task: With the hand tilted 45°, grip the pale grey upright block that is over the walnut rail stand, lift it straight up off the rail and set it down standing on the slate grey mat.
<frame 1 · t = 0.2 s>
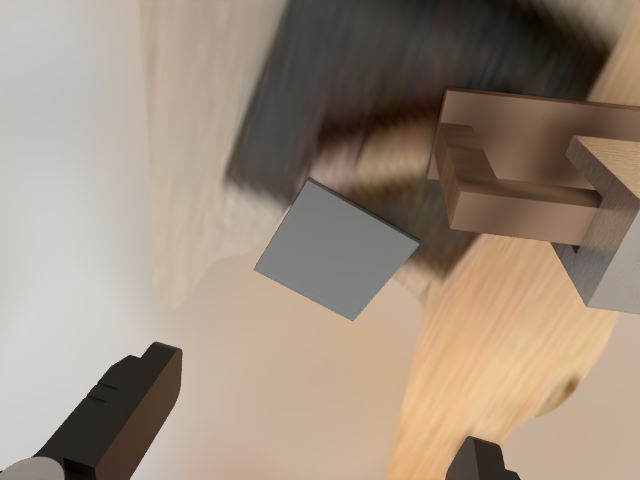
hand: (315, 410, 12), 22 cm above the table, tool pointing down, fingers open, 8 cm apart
rail stand: (557, 146, 29), on the table
pale grey upright block: (592, 185, 24), point 6 cm above the table, touching rail stand
slate mat: (333, 254, 36), on the table
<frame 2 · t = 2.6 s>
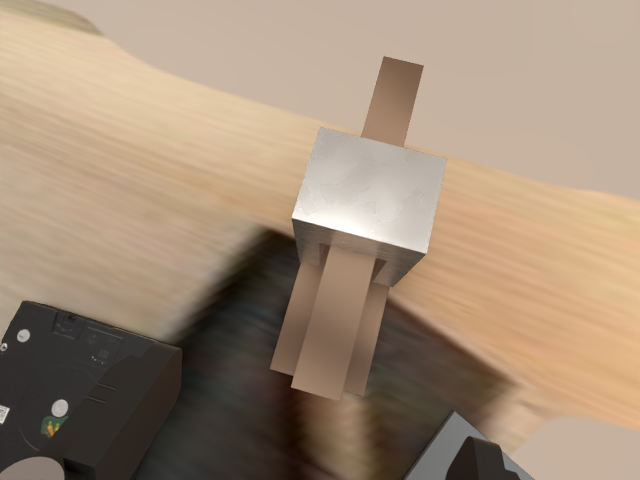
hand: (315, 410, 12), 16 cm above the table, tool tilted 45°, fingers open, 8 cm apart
rail stand: (347, 263, 30), on the table
disk drive: (69, 440, 27), on the table
pale grey upright block: (354, 240, 24), point 6 cm above the table, touching rail stand
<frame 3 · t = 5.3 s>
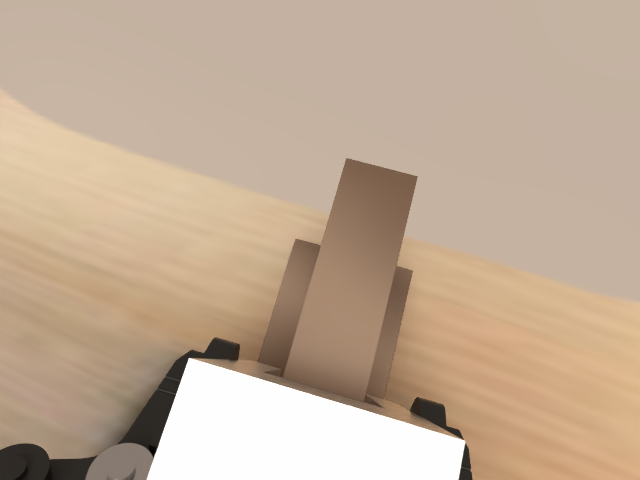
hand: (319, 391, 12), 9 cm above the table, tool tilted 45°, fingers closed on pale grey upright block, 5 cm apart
rail stand: (309, 419, 20), on the table
pale grey upright block: (306, 441, 15), point 6 cm above the table, touching gripper, rail stand
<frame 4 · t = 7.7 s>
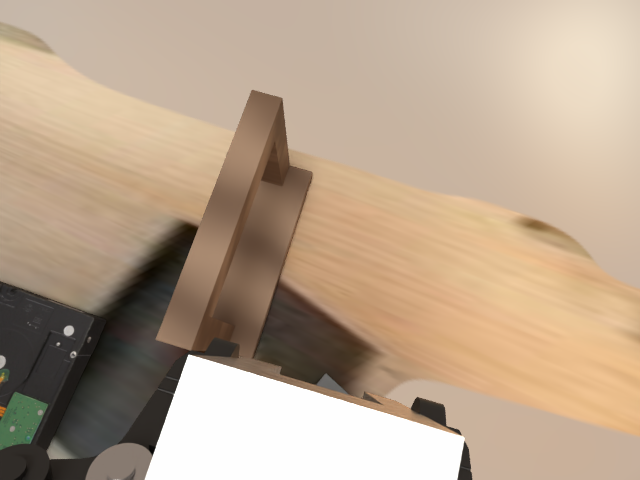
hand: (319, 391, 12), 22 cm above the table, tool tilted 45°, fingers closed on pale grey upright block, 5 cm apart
rail stand: (249, 252, 36), on the table
disk drive: (9, 390, 33), on the table
pale grey upright block: (306, 439, 15), point 19 cm above the table, touching gripper
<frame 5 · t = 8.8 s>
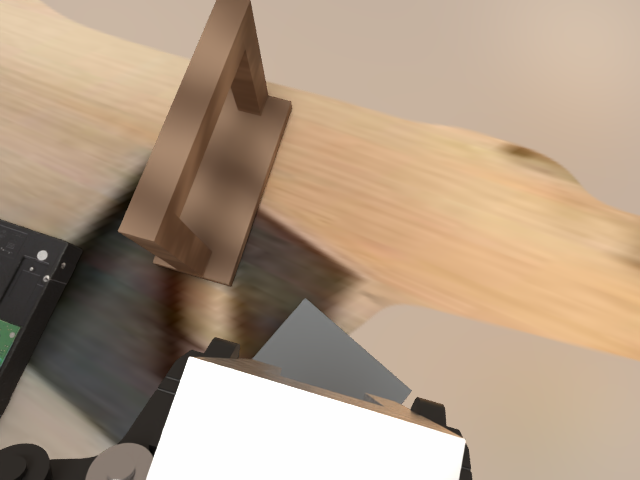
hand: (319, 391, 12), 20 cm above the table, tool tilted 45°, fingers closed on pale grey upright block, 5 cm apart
rail stand: (228, 182, 35), on the table
pale grey upright block: (307, 440, 15), point 17 cm above the table, touching gripper
slate mat: (311, 398, 31), on the table
when the fingers open (5 cm above the table, at t = 12.2 s): pale grey upright block drops 1 cm, resting on slate mat.
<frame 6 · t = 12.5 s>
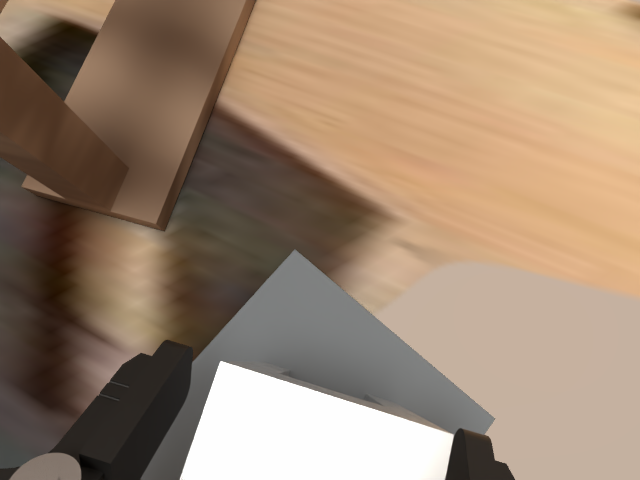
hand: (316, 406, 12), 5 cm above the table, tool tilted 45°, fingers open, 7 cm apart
rail stand: (166, 62, 21), on the table
pale grey upright block: (312, 436, 16), resting on slate mat
slate mat: (306, 432, 16), on the table
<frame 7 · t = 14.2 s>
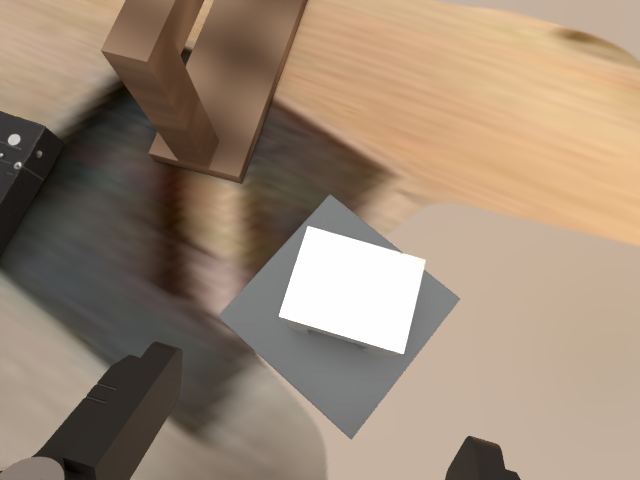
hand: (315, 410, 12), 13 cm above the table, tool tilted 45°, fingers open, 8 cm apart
rail stand: (237, 69, 30), on the table
pale grey upright block: (343, 308, 25), resting on slate mat
slate mat: (339, 308, 26), on the table
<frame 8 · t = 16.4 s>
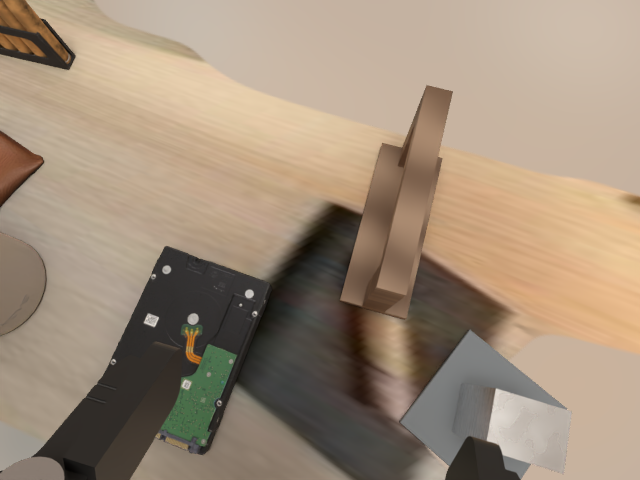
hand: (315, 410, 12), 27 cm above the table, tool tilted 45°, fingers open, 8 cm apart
ammunition clip: (27, 53, 47), on the table
rail stand: (391, 228, 41), on the table
disk drive: (191, 345, 39), on the table
pale grey upright block: (487, 416, 36), resting on slate mat
slate mat: (482, 414, 37), on the table
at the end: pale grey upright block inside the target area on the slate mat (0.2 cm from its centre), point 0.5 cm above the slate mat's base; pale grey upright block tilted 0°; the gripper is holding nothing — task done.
